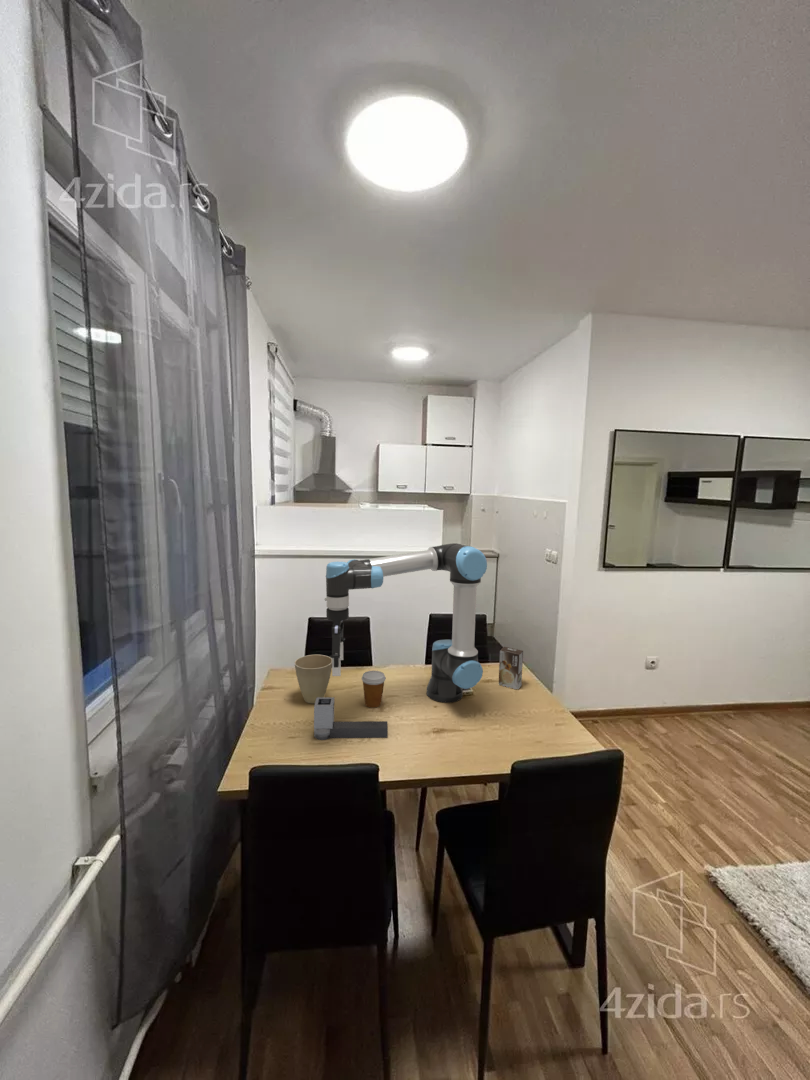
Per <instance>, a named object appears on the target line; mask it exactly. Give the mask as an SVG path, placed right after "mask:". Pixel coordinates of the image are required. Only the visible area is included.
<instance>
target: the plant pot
mask: <svg viewBox="0 0 810 1080" xmlns="http://www.w3.org/2000/svg"><path fill="white" fill-rule="evenodd" d="M294 670H295V674H296V678H297V682H298V686H299V689H300V692H301V695H302V699H303V700H304V702H305V703H307V704H315V701H316V698H317V697H325V695H326V692H327V689H328V686H329V682H330V679H331V676H332V658H330V656H328V655H324V654H308V655H304V656H300V657H298V658H297V659H295V661H294Z"/></svg>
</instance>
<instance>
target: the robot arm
mask: <svg viewBox="0 0 810 1080" xmlns="http://www.w3.org/2000/svg"><path fill="white" fill-rule="evenodd" d="M325 569H326V570H325V585H326V586H325V588H326V590H325V591H326V597H325V598H324V601H325V602H326V607H327V608H326V619H327V621H330V622H332V623H331V637H332V638H331V655H329V657H330V658H332V669H331V676H332V677H341V675H342V674H341V672H342V671H341V669H342V667H341V665H342V663H341V661H344V642H345V641H346V638H345V637H344V627H345V626H344V625H345V623H344V621H346V620H348V619H349V616H350V614H349V613H350V612H349V611H350V609H349V606H350V601H349V600H350V596H349V592H350V590H363V589H375V588H380V587H381V588H382V586H383V584H384V577H389V576H396V575H401V574H408V573H414V572H419V571H425V570H426V571H427V570H431V571H433V572H437V571H445V572H449V582H450V583H451V584H452V585H453V594H452V595H453V596H452V597H453V602H452V625H451V626H452V631H451V633H452V634H451V639H439V640H435V641H434V642H433V643H432V648H431V649H432V650H431V676H430V678H429V680H428V684H427V686H426V696H427V697H428V698H429V699H431V700H432V701H435V702H439V703H447V704H448V703H455V702H458V701H460V700H461V699H462V698H463V692H464V690H463V689H466V690H467V689H471V688H473V687H475V686H476V685H478V683H479V682H480V681H481V679H482V677H483V673H484V671H483V670H484V669H483V667H482V665H481V663H480V662H479V650H478V649H477V648H476V647H475V636H476V635H475V634H476V633H475V632H476V612H477V611H476V610H477V609H476V607H477V606H476V605H477V587H478V585H479V584H481V583H482V581H481V580H482V578H483V576H484V574H486V572H487V569H488V561H487V558H486V556H485V554H484V553H483V552H482V550H480V549H478V548H476V547H474V546H470V545H465V544H461V543H453V542H452V543H447V544H441V545H436V546H430V547H429V548H428V549H427V550H420V551H414V552H406V553H400V554H394V555H387V556H379V557H373V558H369V559H367V558H366V559H360V560H359V559H349V560H348V561H347V562H346V561H331V562H328V563H327V565H326V568H325Z"/></svg>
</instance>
